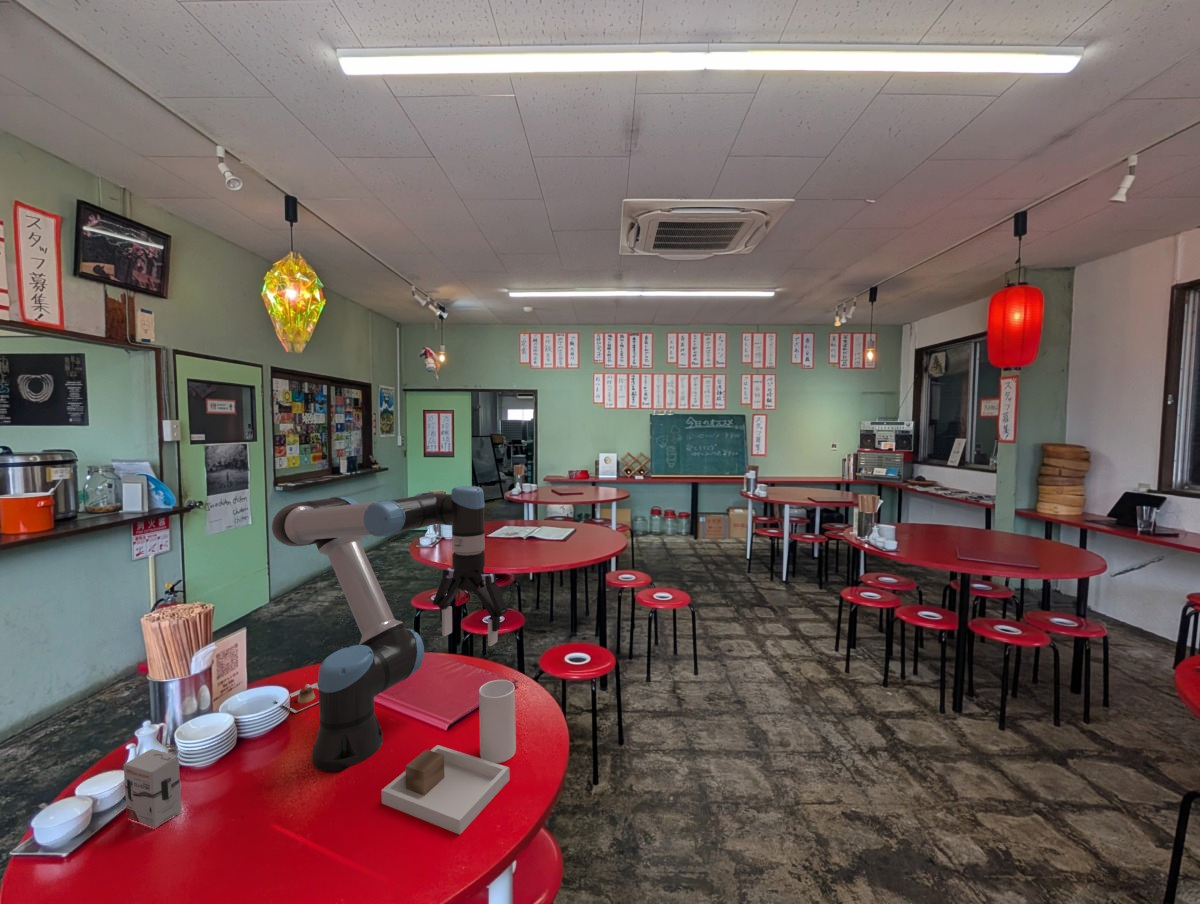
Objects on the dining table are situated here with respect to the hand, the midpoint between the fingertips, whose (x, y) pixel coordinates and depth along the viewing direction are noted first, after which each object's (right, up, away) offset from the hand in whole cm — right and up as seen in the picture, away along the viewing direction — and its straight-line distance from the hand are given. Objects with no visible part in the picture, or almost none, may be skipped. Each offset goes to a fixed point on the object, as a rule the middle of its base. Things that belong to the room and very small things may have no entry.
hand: (469, 639), depth 119 cm
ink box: (-58, -28, -20) cm, 67 cm away
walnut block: (-6, -26, -13) cm, 30 cm away
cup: (+7, -27, -2) cm, 28 cm away
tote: (-1, -27, -15) cm, 31 cm away
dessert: (-54, -27, +24) cm, 65 cm away
